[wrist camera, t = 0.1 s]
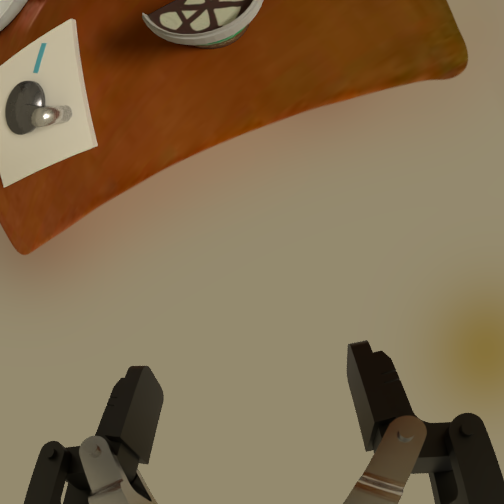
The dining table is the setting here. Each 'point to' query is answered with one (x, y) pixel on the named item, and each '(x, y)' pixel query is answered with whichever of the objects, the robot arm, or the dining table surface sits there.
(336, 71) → the dining table surface
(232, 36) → the food container
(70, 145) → the dial plate
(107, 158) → the dining table surface
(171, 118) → the dining table surface
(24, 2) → the serving bowl
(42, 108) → the dial
